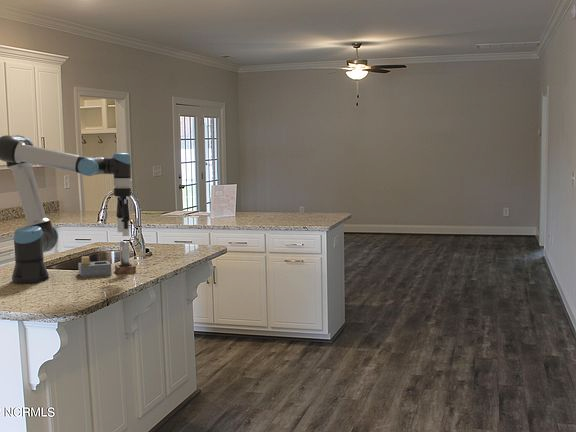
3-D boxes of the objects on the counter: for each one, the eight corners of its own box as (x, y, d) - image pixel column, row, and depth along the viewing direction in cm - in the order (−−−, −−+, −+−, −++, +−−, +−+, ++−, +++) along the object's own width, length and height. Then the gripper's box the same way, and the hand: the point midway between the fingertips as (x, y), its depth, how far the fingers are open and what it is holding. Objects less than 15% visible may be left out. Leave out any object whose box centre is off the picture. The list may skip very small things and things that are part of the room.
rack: (117, 276, 301) (116, 267, 301) (114, 273, 309) (113, 264, 309) (137, 275, 305) (137, 266, 304) (133, 271, 313) (133, 263, 312)
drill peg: (121, 273, 304) (120, 242, 303) (120, 271, 308) (119, 241, 306) (130, 272, 306) (129, 242, 304) (129, 270, 310) (128, 240, 308)
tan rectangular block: (83, 273, 298) (82, 257, 297) (82, 272, 301) (81, 256, 300) (90, 272, 299) (89, 257, 298) (89, 271, 302) (88, 256, 301)
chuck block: (81, 280, 295) (80, 266, 294) (78, 276, 304) (78, 262, 303) (111, 277, 300) (111, 264, 299) (108, 273, 309) (107, 260, 308)
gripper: (136, 189, 293) (136, 237, 295) (126, 185, 316) (126, 230, 318) (118, 189, 290) (119, 238, 292) (109, 185, 313) (110, 231, 315)
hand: (123, 234), depth 305 cm, fingers open, 13 cm apart
